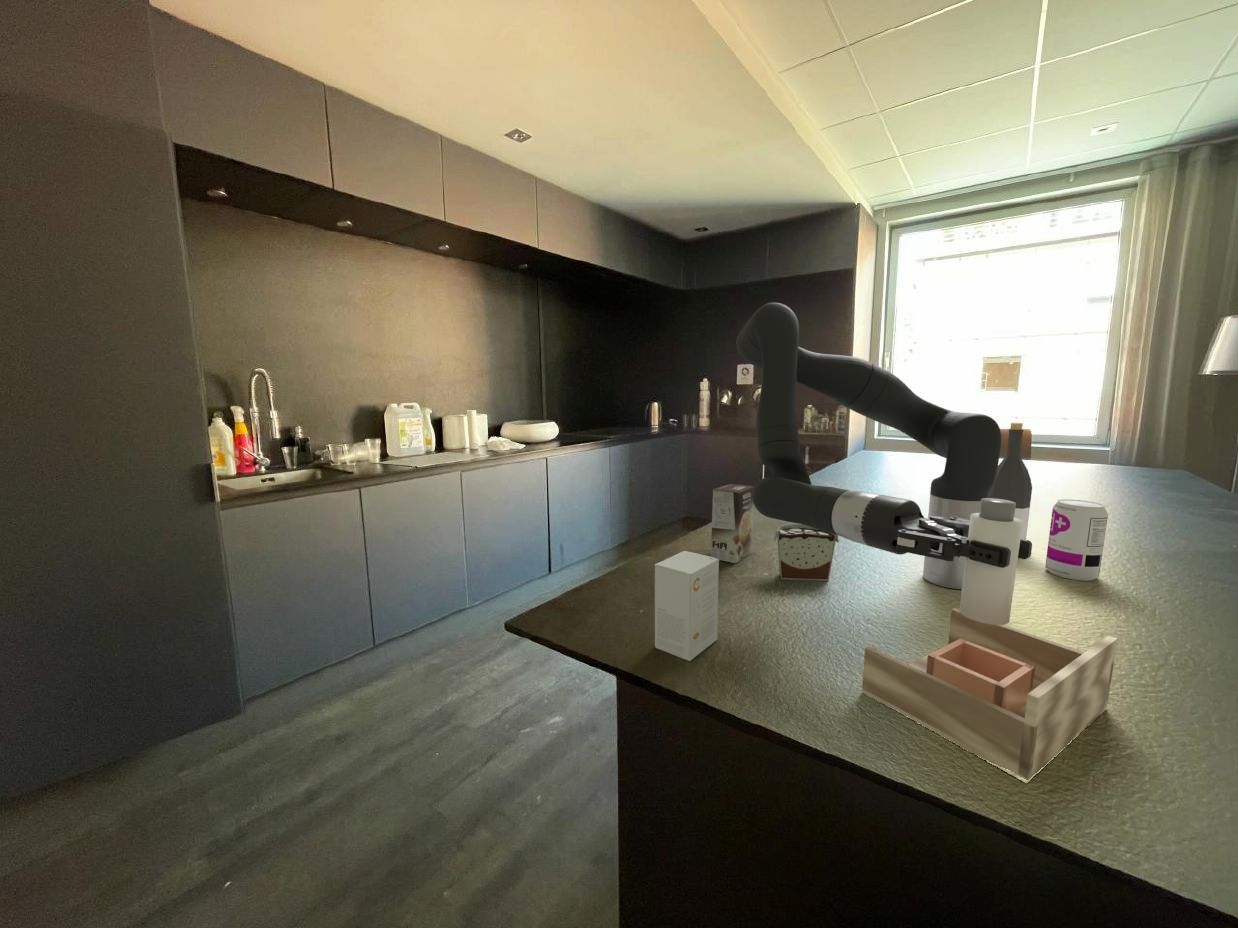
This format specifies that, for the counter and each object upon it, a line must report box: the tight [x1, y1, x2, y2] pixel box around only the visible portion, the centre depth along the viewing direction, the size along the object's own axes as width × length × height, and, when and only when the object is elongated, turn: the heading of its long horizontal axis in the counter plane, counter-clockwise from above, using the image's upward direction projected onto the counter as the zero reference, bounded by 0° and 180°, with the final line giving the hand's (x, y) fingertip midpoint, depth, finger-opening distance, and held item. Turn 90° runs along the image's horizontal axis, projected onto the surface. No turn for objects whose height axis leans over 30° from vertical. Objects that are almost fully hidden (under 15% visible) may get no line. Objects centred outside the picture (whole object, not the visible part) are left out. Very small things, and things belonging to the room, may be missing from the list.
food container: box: [773, 523, 840, 582], centre depth 101 cm, size 12×6×10 cm, turn 84°
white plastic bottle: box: [959, 498, 1023, 626], centre depth 58 cm, size 5×5×14 cm
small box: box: [654, 550, 720, 662], centre depth 73 cm, size 8×6×13 cm
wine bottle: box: [988, 422, 1033, 540], centre depth 115 cm, size 8×8×30 cm
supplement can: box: [1044, 498, 1109, 582], centre depth 100 cm, size 8×8×15 cm
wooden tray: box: [861, 607, 1118, 780], centre depth 59 cm, size 22×17×9 cm
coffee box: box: [710, 483, 755, 564], centre depth 112 cm, size 9×6×16 cm
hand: (1018, 554), depth 55 cm, fingers closed on white plastic bottle, 4 cm apart
